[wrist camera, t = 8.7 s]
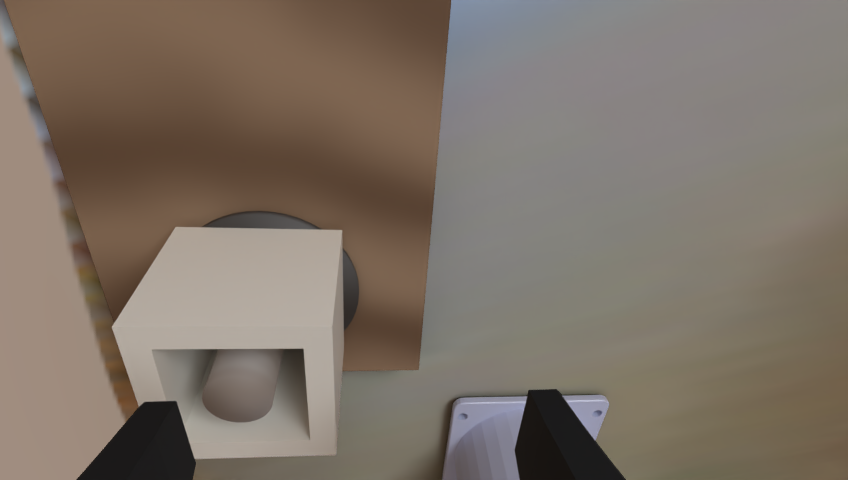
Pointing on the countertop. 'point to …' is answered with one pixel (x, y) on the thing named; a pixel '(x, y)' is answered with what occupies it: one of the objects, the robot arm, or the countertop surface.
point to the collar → (242, 333)
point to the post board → (251, 146)
